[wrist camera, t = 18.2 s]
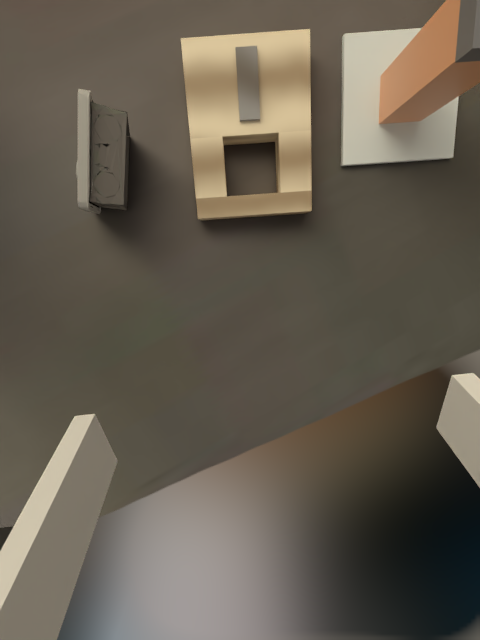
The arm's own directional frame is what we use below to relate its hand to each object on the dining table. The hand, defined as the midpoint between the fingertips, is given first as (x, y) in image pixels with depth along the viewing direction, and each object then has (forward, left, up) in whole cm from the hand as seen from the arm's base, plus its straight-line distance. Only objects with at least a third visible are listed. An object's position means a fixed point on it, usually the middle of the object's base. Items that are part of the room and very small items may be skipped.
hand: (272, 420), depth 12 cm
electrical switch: (-18, +10, -27) cm, 34 cm away
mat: (+9, +25, -27) cm, 38 cm away
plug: (+9, +25, -26) cm, 37 cm away
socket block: (-5, +17, -27) cm, 32 cm away
